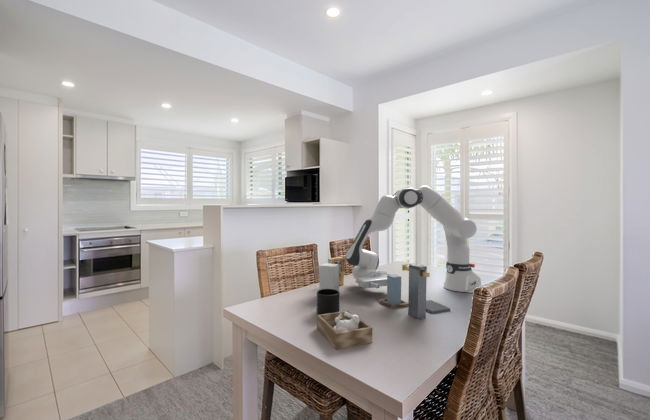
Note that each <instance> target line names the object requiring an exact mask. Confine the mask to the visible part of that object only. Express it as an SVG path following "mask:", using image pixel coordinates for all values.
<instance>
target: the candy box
mask: <svg viewBox="0 0 650 420" xmlns="http://www.w3.org/2000/svg"><path fill="white" fill-rule="evenodd" d="M327 263H329V264H339V286H344V282H345V281H344V280H345V279H344V278H345V258H344V257H343V256H342V257H341V256H336V257H331V258H330V257H329V258H327Z"/></svg>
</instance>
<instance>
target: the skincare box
mask: <svg viewBox="0 0 650 420" xmlns="http://www.w3.org/2000/svg"><path fill="white" fill-rule="evenodd" d="M318 274H319V275H318V279H319V280H318V282H319V284H318V285H319V290H322V289H334V290H337V291H339V292H340V285H339V264H329V263H328V262H326V263H325V262H324V263H322V264H320V265H318Z"/></svg>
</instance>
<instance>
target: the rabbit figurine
mask: <svg viewBox="0 0 650 420" xmlns="http://www.w3.org/2000/svg"><path fill="white" fill-rule="evenodd" d="M353 314H354V313H353ZM341 315H342V314H340V315H339V316H338V317H336V318H335V322H337V324H336V326H334V327H333V328H334V329H335V330H336V331H337V332H344V331H349V330H355V329H358V328H359V325H358V324H359V318H360V317H359V315H357V314H354V315H351V314H350V313H348V312H345V313H344V316H347V317H350V318H351V319H350V320H345V319H344V320H340V319H341V318H342V317H340V316H341Z"/></svg>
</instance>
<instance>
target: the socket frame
mask: <svg viewBox="0 0 650 420" xmlns="http://www.w3.org/2000/svg"><path fill="white" fill-rule="evenodd" d="M379 303H381V304H382V305H384V306H386V307H388V308H389V309H391V310H392V309H398V308H404V307H405V308H406V307H408V302H407V301H405V300H403V299H401V304H397V305H390V304H388V303H387V297H386V298H381V299H379Z"/></svg>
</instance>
